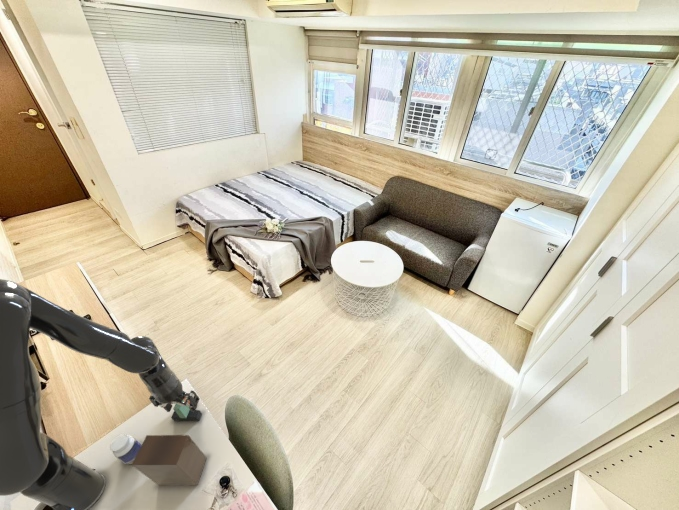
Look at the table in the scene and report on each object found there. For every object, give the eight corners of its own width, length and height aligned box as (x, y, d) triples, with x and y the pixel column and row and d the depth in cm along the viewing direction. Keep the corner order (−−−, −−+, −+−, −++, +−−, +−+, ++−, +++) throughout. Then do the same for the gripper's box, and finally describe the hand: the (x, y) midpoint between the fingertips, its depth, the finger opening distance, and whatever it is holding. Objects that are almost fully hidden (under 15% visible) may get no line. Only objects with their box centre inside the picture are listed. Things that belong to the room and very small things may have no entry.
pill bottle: (147, 445, 90) (134, 432, 84) (135, 465, 85) (120, 454, 79) (131, 443, 90) (117, 430, 84) (119, 463, 86) (102, 452, 80)
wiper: (173, 422, 96) (162, 409, 90) (177, 413, 98) (167, 399, 92) (198, 421, 96) (189, 408, 90) (202, 413, 98) (193, 399, 92)
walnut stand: (158, 485, 81) (131, 465, 71) (170, 457, 87) (146, 435, 76) (197, 485, 81) (176, 464, 71) (206, 457, 87) (188, 435, 76)
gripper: (134, 397, 81) (156, 420, 90) (181, 397, 81) (198, 420, 90) (148, 373, 87) (167, 398, 96) (192, 373, 87) (207, 398, 96)
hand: (182, 409), depth 93 cm, fingers open, 8 cm apart
